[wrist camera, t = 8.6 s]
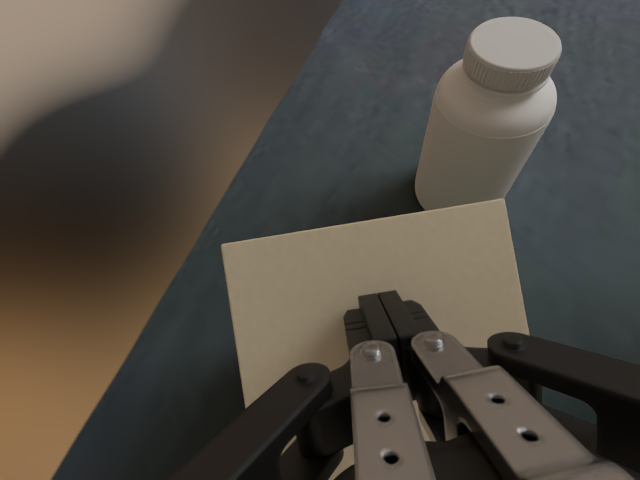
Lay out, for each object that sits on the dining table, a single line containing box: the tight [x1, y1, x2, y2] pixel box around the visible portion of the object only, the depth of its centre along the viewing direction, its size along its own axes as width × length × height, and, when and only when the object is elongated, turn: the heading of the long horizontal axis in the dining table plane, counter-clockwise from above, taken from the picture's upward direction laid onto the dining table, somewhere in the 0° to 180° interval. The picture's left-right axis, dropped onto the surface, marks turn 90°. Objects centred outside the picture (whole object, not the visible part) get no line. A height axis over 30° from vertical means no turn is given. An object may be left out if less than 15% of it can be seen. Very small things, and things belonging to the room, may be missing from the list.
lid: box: [221, 199, 529, 480], centre depth 15 cm, size 14×12×1 cm
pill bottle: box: [415, 17, 562, 211], centre depth 28 cm, size 8×8×15 cm
